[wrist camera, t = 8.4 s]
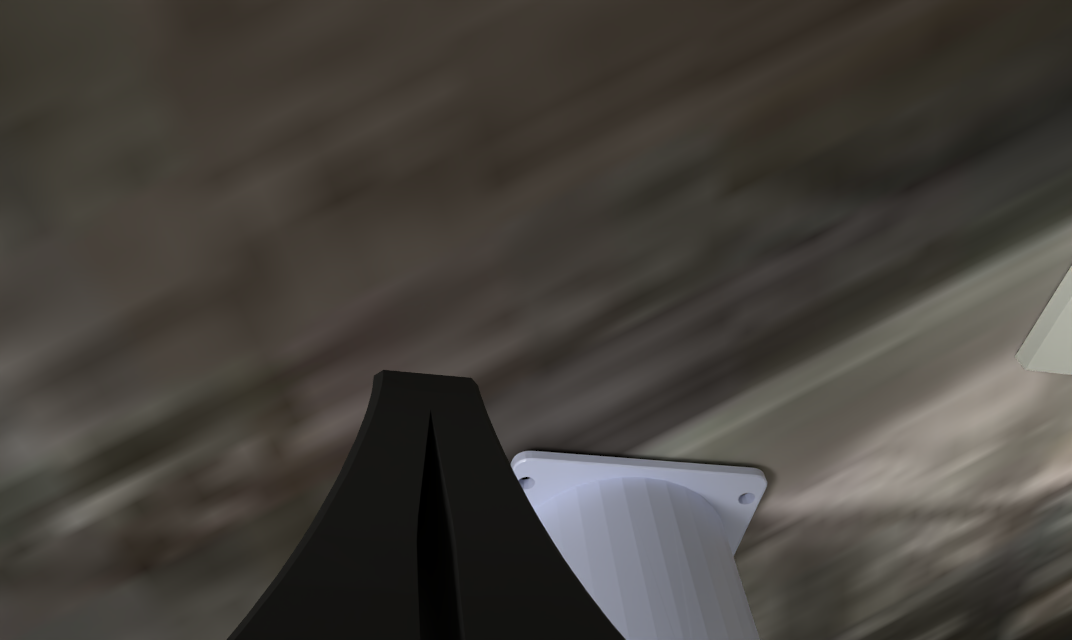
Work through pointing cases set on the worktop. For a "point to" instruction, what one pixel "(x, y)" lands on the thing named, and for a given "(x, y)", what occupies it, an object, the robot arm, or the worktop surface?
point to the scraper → (1051, 335)
